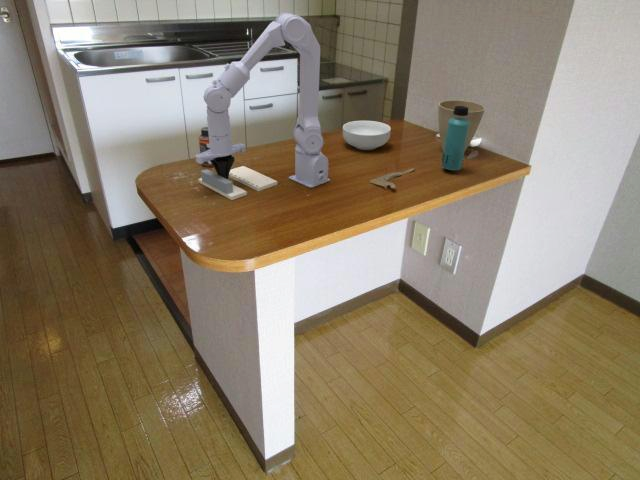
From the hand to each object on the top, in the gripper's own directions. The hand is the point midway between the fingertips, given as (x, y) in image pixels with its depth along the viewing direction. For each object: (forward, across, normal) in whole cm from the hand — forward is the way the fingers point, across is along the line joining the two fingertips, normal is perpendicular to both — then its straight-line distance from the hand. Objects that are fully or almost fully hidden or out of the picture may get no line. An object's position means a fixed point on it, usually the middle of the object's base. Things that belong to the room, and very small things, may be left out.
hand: (223, 181), depth 126 cm
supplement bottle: (+2, -8, -18) cm, 20 cm away
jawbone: (+3, -42, +30) cm, 52 cm away
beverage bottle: (+2, -60, +36) cm, 70 cm away
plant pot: (+2, -77, +27) cm, 81 cm away
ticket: (+2, -9, 0) cm, 9 cm away
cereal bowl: (+2, -58, +3) cm, 58 cm away
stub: (+2, +1, 0) cm, 2 cm away
